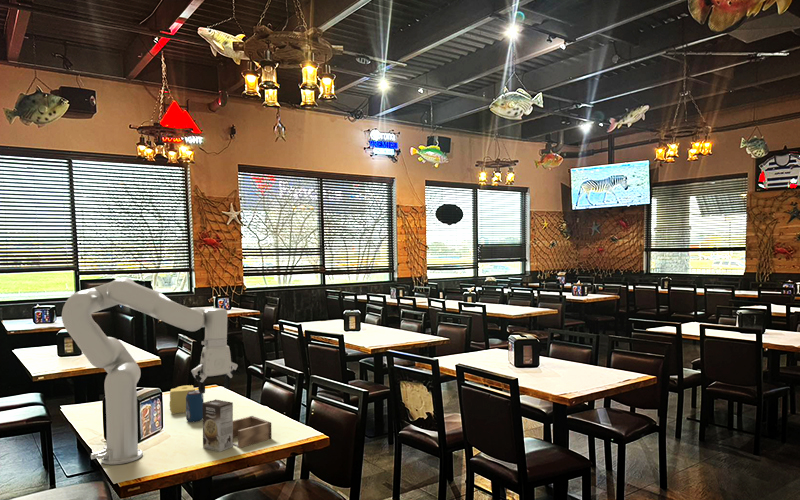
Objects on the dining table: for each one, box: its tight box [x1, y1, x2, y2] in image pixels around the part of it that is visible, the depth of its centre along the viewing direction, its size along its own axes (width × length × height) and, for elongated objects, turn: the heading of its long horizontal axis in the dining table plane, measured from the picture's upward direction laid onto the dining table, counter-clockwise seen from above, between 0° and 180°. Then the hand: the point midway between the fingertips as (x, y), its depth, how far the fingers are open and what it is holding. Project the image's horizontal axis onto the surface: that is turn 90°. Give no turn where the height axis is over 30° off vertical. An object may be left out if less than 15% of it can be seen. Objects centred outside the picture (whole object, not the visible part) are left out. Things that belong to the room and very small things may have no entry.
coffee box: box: [202, 399, 234, 453], centre depth 196 cm, size 9×6×16 cm
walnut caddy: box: [233, 415, 273, 449], centre depth 204 cm, size 13×13×6 cm
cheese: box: [169, 384, 196, 415], centre depth 246 cm, size 10×11×10 cm
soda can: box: [185, 389, 205, 424], centre depth 229 cm, size 7×7×12 cm
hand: (214, 390), depth 196 cm, fingers open, 9 cm apart
